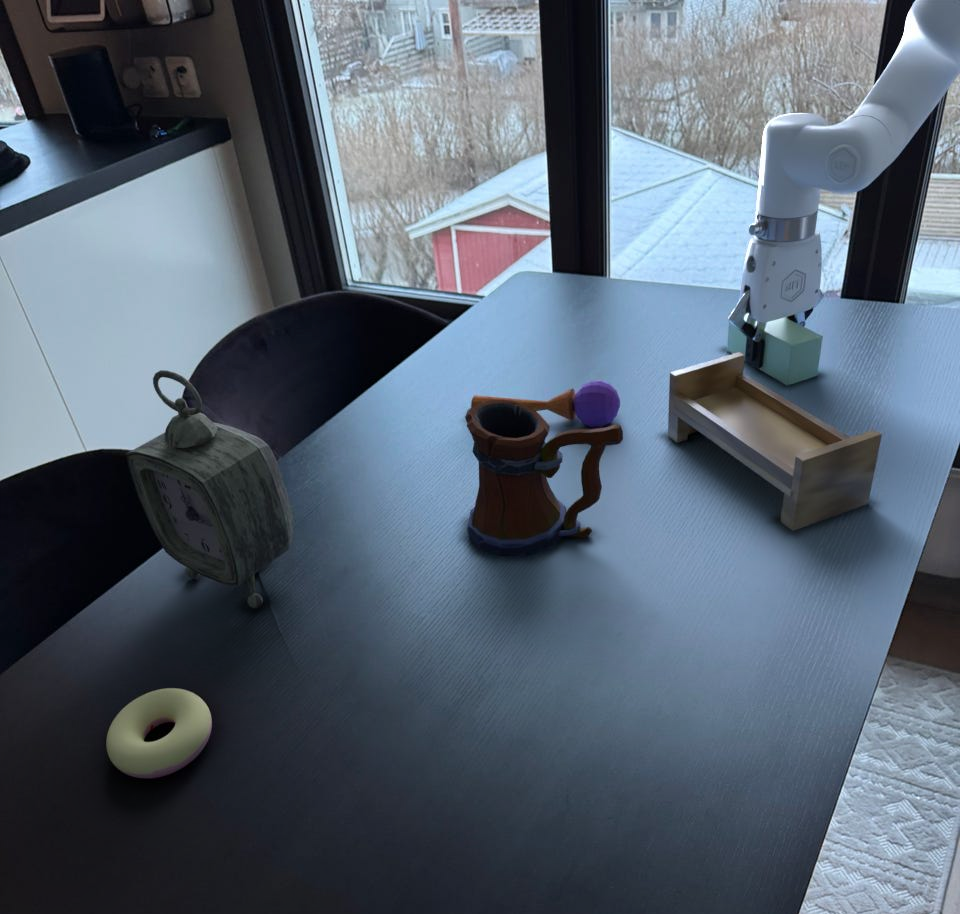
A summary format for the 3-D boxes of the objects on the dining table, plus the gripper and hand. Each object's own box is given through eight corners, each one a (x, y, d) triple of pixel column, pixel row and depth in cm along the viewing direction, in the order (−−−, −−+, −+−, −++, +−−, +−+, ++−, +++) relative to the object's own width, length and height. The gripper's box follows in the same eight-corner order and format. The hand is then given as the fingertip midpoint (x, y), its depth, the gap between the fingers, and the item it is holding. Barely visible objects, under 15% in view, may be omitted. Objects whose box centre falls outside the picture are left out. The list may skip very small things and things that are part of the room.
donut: (223, 719, 89) (125, 721, 89) (217, 679, 87) (117, 681, 86) (205, 785, 81) (96, 788, 80) (198, 744, 78) (86, 746, 78)
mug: (634, 516, 105) (635, 394, 95) (608, 575, 97) (607, 449, 87) (488, 498, 111) (475, 383, 101) (452, 553, 103) (435, 433, 93)
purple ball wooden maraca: (479, 380, 127) (622, 374, 120) (484, 422, 130) (624, 418, 123) (465, 392, 122) (613, 386, 115) (471, 435, 125) (615, 432, 118)
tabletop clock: (172, 581, 104) (89, 375, 88) (232, 541, 110) (164, 339, 93) (256, 622, 97) (183, 405, 81) (316, 577, 102) (258, 365, 86)
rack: (733, 417, 120) (739, 351, 114) (867, 506, 101) (882, 433, 96) (667, 438, 117) (669, 372, 111) (792, 533, 99) (802, 460, 93)
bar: (755, 344, 135) (758, 304, 132) (816, 378, 125) (823, 336, 121) (726, 352, 134) (729, 312, 130) (786, 388, 124) (791, 345, 120)
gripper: (746, 247, 113) (735, 385, 125) (859, 217, 117) (838, 353, 129) (711, 232, 118) (704, 365, 130) (820, 204, 122) (803, 335, 134)
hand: (770, 358), depth 129 cm, fingers closed on bar, 5 cm apart
